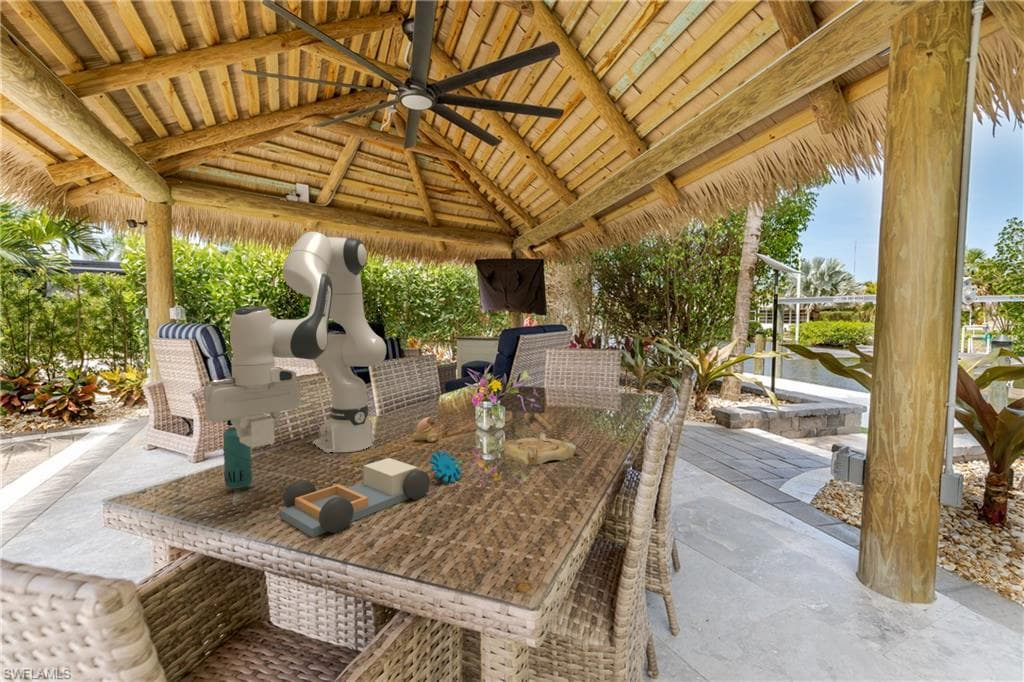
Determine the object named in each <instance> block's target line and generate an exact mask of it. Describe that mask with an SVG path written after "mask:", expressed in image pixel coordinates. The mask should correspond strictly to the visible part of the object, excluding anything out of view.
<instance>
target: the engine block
mask: <svg viewBox="0 0 1024 682" xmlns="http://www.w3.org/2000/svg"><path fill="white" fill-rule="evenodd" d="M239 425H240V426H241V428H245V429H247V432H246V433H247V436H245V437H240V438H239V440H240V443H243V444H245V445H247V446H249V447H251V449H253V448H257V447H262V446H268V445H271V444H275V442H276V441H275V440H276V439H275V430H274V418H273V417H272V416H271V415H266V414H262V415H256V416H250V417H245V418H241V423H239Z"/></svg>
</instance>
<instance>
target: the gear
mask: <svg viewBox="0 0 1024 682" xmlns="http://www.w3.org/2000/svg"><path fill="white" fill-rule="evenodd" d="M442 454H443V455H442ZM449 455H450V453H449V451H446V450H445V452H444V453H443V450H437V453H436V452H435V453H433V454H432V455H431V459H430V460H429V464H431V465H432V466H431V467H430V468H431V471H432V472H437V473H436V474H435V477H436V478H437V479H439V478H441V477H442V476H444V477H443V478H442V481H443V482H444V483H448V481H449V482H450V483H453V484H454V483H455V482H456V481H458V480H459V479H460V478H461V474H462V471H463V470H462V469H461V468H459V467H460V466H461V464H463V461H462V460H459V461H456V462H455V460H456V456H455V455H451V456H450V457H448V456H449ZM449 477H450V479H449Z"/></svg>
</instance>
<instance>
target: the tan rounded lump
mask: <svg viewBox="0 0 1024 682" xmlns="http://www.w3.org/2000/svg"><path fill="white" fill-rule="evenodd" d="M437 424H438V420H433V419H431V417H430V416H427V417H424V418H422V419H420V420H419V422H418V423H417V425H416V428H415V432H414V433H412V434H411V438H412V439H413V441H414V440H416V441H428V442H429V443H433V442H434V441H435V442H436V441H437V440H438V439H439V437H440V435H439V433H438V432H439V430H440V428H439V426H437V428H436V429H435V428H434V427H435V426H436V425H437Z"/></svg>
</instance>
